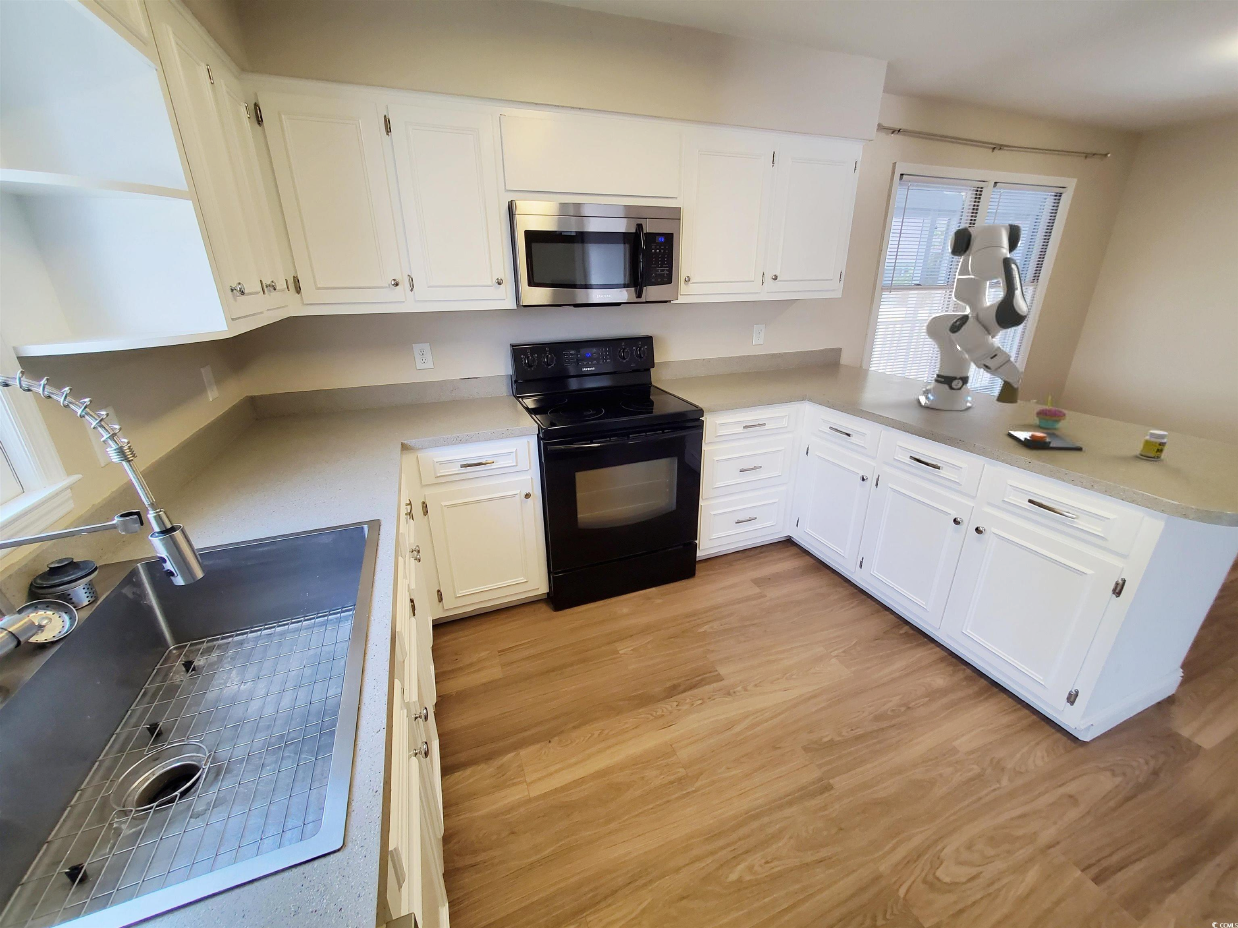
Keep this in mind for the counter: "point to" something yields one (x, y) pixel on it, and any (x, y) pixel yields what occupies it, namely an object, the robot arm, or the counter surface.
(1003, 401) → the cork
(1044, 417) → the cupcake
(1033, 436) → the tare button
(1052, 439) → the scale
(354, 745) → the counter surface
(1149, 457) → the supplement bottle
